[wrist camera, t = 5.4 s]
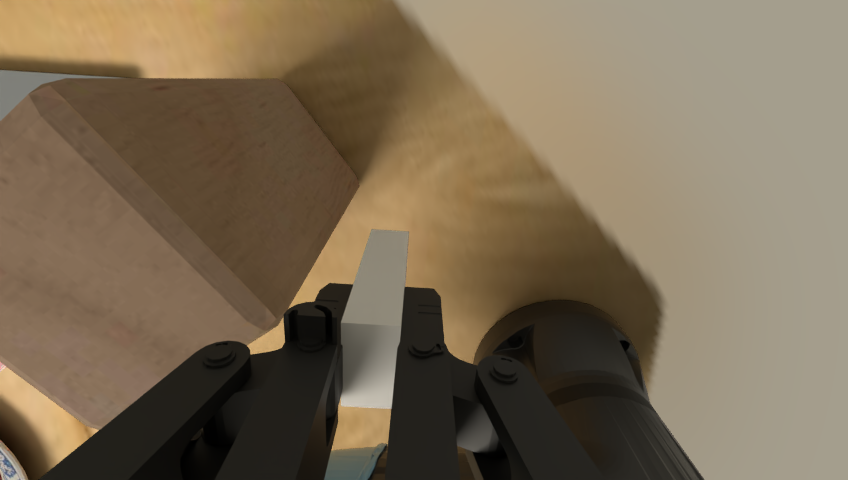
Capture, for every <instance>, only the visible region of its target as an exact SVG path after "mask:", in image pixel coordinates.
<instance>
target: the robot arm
mask: <svg viewBox="0 0 848 480" xmlns="http://www.w3.org/2000/svg"><path fill="white" fill-rule="evenodd" d="M408 238H409V232H406V231H392V230H377V229H372V230H371V233H370V236H369V239H368V242H367V245H366V248H365V251H364V254H363V257H362V260H361V263H360V266H359V269H358V272H357V275H356V278H355V281H354V284H353V285H351V284H336V283H329V284H328V285H326V286H325V287H324V288H322V289H321V290H320V291H319V293H318V295H317V297H316V299H315V301H314V302H306V303H301V304H297V305H295V306H293V307H291V308H289V309H288V310H287V311H286V312H285V313H284V314H283V316H284V331H285V343H284V345H283V347H282V348H281V349H278V350H275V351H271V352H266V353H259V354H253V355H250V349H249V348H248V347H247V345H246V344H243V343H241V342H238V341H221V342H216V343H213V344H210V345H207V346H205V347H203V348H201V349H200V350H198V351H197V352H195V353H194V354H193V355H191V356H190V357H189V358H188V359H187V360H185V361H184V362H183V363H182V364H180V365H179V366H178V367H177V368H175V369H174V370H173V371H172V372H171V373H169V374H168V375H167V376H166V377H164V378H163V379H162V380H161V381H159V382H158V383H157V384H156V385H155V386H153V387H152V388H151V389H150V390H148V391H147V392H146V393H145V394H143V395H142V396H141V397H140V398H138V399H137V400H136V401H135V402H134V403H132V404H131V405H130V406H129V407H127V408H126V409H125V410H124V411H122V412H121V413H120V414H119V415H118V416H116V417H115V418H114V419H113V420H111V421H110V422H109V423H108V424H106V425H105V426H104V427H103V428H102V429H100V430H99V431H98V432H97V433H95V434H94V435H93V436H92V437H90V438H89V439H88V440H87V441H85V442H84V443H83V444H82V445H81V446H79V447H78V448H77V449H76V450H74V451H73V452H72V453H71V454H69V455H68V456H67V457H66V458H65V459H63V460H62V461H61V462H60V463H58V464H57V465H56V466H55V467H53V468H52V469H51V470H50V471H49V472H47V473H46V474H45V475H44V476H42V477H41V478H40V479H39V480H704V478H703V477H702V476H701V474H700V473H699V471H698V470H697V469H696V467H695V466H694V464H693V463H692V462H691V460H690V459H689V457H688V456H687V454H686V453H685V452H684V450H683V449H682V448H681V446H680V445H679V443H678V442H677V441H676V439H675V438H674V436H673V435H672V433H671V432H670V431H669V429H668V428H667V426H666V425H665V424H664V422H663V421H662V420H661V418H660V417H659V415H658V414H657V413H656V411H655V410H654V408H653V407H652V405H651V404H650V401H649V397H648V393H647V389H646V385H645V381H644V377H643V373H642V369H641V365H640V361H639V358H638V354H637V352H636V349H635V347H634V345H633V344H632V342H631V340H630V339H629V337H628V336H627V335H626V334H625V332H624V331H623V330H622V329H621V327H620V326H619V325H618V324H617V322H616V321H615V320H614V319H613V318H611V317H610V316H609V315H608V314H606V313H605V312H603V311H602V310H600V309H598V308H596V307H593V306H591V305H588V304H585V303H581V302H576V301H568V300H553V301H545V302H540V303H535V304H532V305H529V306H526V307H523V308H521V309H519V310H516V311H515V312H513V313H511V314H509V315H508V316H506V317H505V318H503V319H502V320H500V321H499V322H498V323H497V324H496V325H495V326H493V327H492V328H491V330H490V331H489V332H488V333H487V334H486V335H485V337H484V338H483V340H482V341H481V343H480V345H479V347H478V349H477V351H476V354H475V358H474V362H473V364H470V363H467V362H464V361H462V360H459V359H458V358H456V357H454V356H453V355H452V354H451V353H450V352H449V351H448V349H447V346H446V344H445V343H444V333H443V321H442V309H441V297H440V296H439V295H438V293H437V292H436V291H435V290H434V289H430V288H414V287H405V283H406V268H407V253H408ZM340 397H341V406H347V407H366V408H384V409H391V419H390V430H389V440H388V444H384V443H381V444H379V445H377V446H376V447H367V448H353V449H340V450H334V451H331V449H332V445H333V441H334V436H335V432H336V428H337V424H338V405H339V401H340ZM387 445H388V446H387Z"/></svg>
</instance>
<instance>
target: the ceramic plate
mask: <svg viewBox="0 0 848 480" xmlns="http://www.w3.org/2000/svg"><path fill="white" fill-rule="evenodd" d="M0 480H28V478H27V475H26V473H25V471H24V469H23V468H22V466H21V465H20V463H19V461H18V460H17V458H16V457H15V455H14V454H13V453H12V452H11V451H10V450H9V449H8V447H7V446H6V445H5V444H4V443H3V442H2V441H1V440H0Z"/></svg>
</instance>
